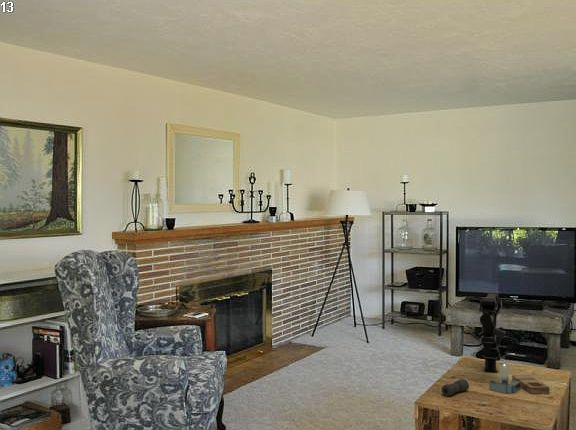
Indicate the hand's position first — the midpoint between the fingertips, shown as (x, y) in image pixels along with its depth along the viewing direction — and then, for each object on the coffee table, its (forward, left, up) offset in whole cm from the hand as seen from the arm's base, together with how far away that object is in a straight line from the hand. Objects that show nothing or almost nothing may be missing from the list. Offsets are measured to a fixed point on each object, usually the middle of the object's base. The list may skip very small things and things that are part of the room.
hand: (488, 353), depth 287 cm
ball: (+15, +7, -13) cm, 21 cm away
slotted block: (+8, +19, -13) cm, 25 cm away
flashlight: (+28, -15, -13) cm, 34 cm away
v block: (+18, +8, -13) cm, 23 cm away
